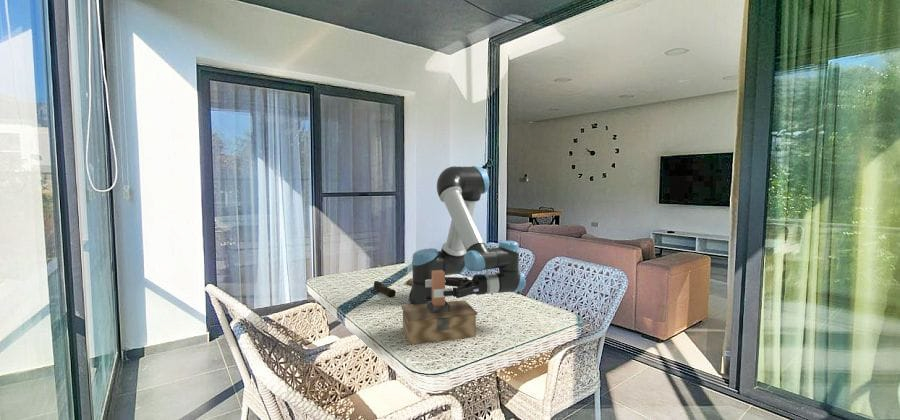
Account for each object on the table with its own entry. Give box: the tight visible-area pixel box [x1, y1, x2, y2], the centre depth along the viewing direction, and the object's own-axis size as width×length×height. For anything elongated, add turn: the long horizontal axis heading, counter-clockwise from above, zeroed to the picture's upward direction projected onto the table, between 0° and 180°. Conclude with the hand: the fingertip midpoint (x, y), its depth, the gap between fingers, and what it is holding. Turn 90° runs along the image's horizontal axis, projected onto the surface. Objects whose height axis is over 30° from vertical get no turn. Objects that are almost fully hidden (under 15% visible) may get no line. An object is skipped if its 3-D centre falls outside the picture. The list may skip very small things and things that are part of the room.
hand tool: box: [373, 280, 397, 299], centre depth 201 cm, size 19×4×5 cm, turn 34°
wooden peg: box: [432, 270, 446, 307], centre depth 148 cm, size 4×4×14 cm
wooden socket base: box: [401, 299, 478, 345], centre depth 149 cm, size 25×15×11 cm, turn 106°
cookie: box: [406, 277, 413, 287], centre depth 217 cm, size 10×11×3 cm
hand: (429, 288), depth 147 cm, fingers open, 13 cm apart
